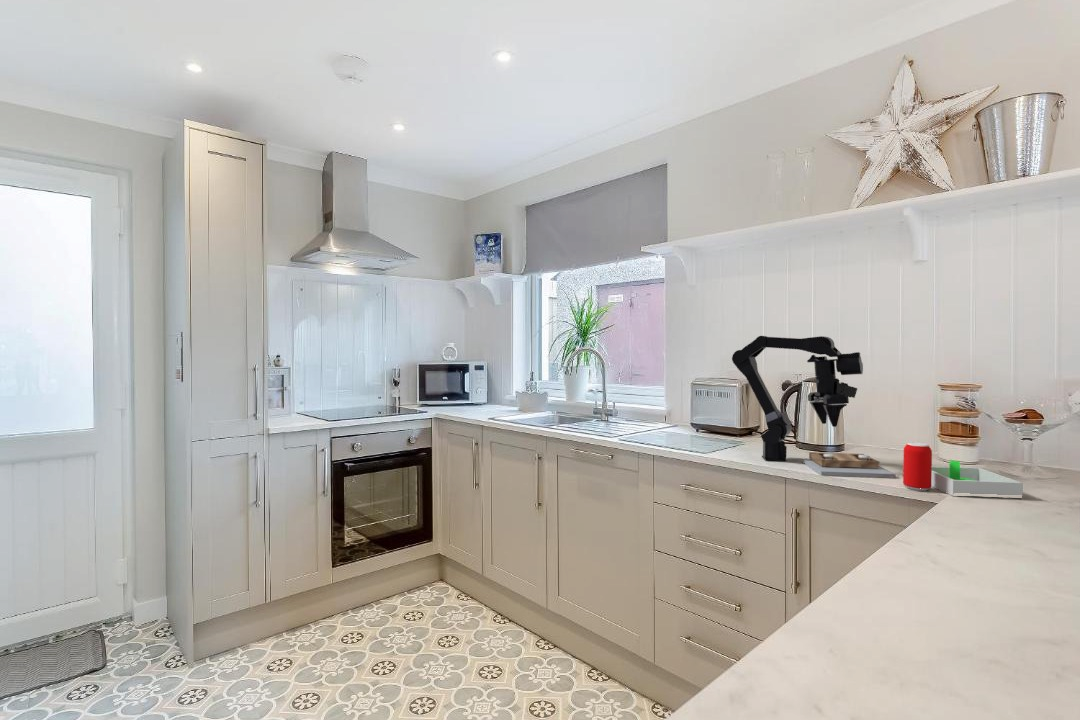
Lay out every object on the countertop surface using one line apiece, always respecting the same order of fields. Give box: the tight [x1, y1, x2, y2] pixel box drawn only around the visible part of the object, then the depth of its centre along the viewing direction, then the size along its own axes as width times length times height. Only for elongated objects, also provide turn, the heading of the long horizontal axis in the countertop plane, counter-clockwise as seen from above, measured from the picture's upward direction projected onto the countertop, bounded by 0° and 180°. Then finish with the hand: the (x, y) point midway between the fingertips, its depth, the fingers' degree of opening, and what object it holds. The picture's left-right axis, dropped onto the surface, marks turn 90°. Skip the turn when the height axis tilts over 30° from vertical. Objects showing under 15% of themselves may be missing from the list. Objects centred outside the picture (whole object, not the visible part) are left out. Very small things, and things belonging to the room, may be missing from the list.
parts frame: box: [931, 466, 1024, 496], centre depth 146 cm, size 16×17×4 cm
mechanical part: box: [948, 459, 975, 481], centre depth 147 cm, size 12×6×8 cm, turn 146°
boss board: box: [802, 454, 897, 479], centre depth 169 cm, size 20×18×4 cm
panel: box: [808, 451, 880, 468], centre depth 172 cm, size 16×12×2 cm
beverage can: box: [902, 442, 933, 492], centre depth 147 cm, size 6×6×12 cm
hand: (829, 425), depth 174 cm, fingers open, 9 cm apart
